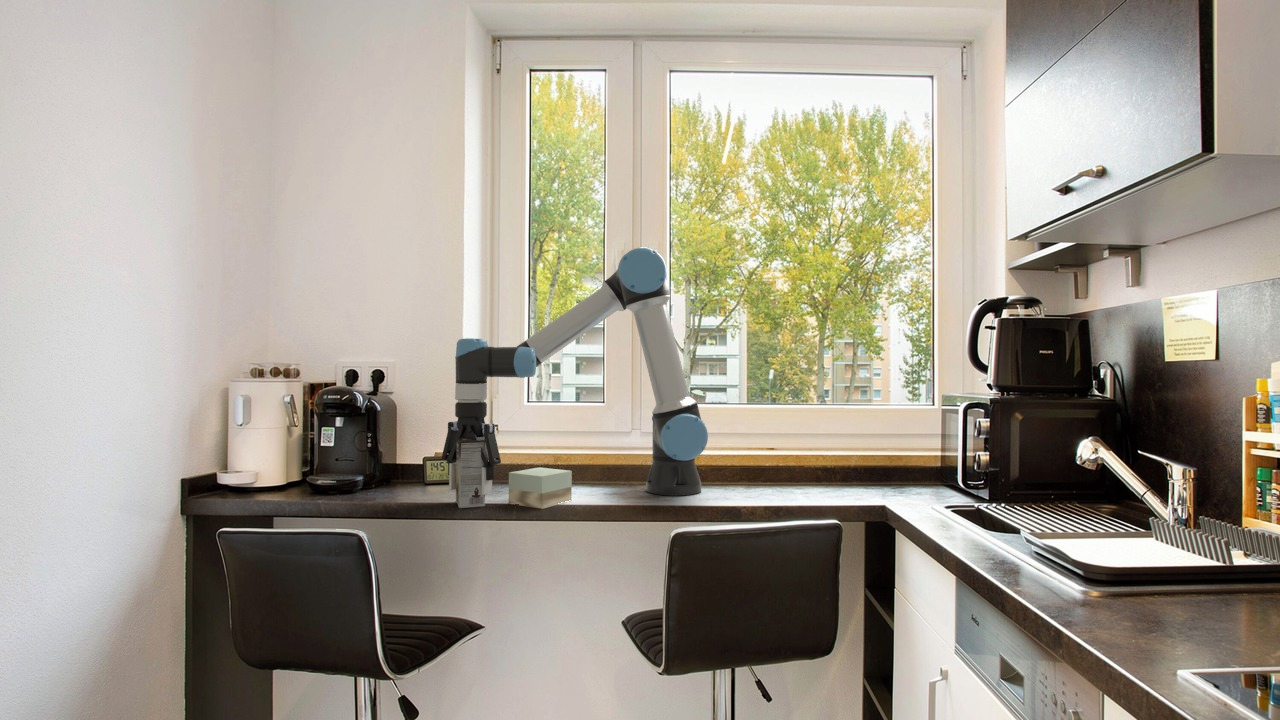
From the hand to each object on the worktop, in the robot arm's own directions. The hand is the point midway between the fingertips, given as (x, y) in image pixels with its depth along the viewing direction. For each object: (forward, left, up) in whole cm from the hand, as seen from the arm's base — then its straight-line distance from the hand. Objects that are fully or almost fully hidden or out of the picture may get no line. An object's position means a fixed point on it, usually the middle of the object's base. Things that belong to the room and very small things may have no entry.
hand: (470, 491), depth 155 cm
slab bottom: (-13, -11, -4) cm, 17 cm away
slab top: (-13, -11, 0) cm, 17 cm away
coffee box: (0, 0, -3) cm, 3 cm away
